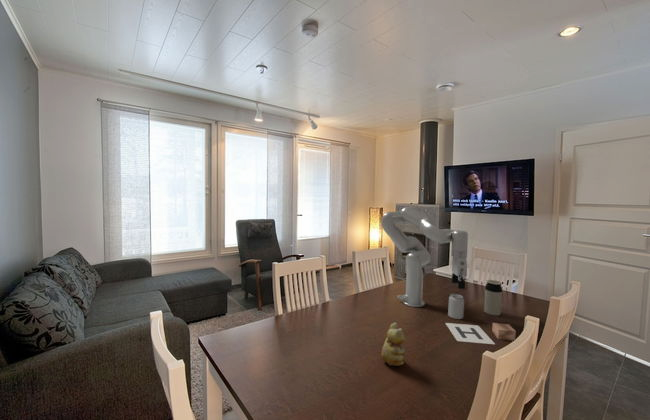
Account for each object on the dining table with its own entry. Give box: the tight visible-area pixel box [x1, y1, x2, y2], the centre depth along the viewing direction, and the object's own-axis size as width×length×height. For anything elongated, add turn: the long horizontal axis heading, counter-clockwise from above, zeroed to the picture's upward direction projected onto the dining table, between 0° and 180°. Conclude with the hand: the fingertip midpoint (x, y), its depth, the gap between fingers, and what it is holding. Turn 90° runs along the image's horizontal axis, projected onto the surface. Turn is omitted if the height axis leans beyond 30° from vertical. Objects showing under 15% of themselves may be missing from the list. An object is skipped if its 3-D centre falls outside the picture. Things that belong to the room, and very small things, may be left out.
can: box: [447, 293, 465, 320], centre depth 150 cm, size 8×8×12 cm
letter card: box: [445, 322, 496, 345], centre depth 133 cm, size 16×18×1 cm
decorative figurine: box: [381, 322, 406, 367], centre depth 108 cm, size 10×8×15 cm
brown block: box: [491, 322, 517, 342], centre depth 131 cm, size 7×7×5 cm
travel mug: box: [483, 279, 503, 317], centre depth 157 cm, size 8×8×18 cm
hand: (458, 285), depth 150 cm, fingers open, 9 cm apart
